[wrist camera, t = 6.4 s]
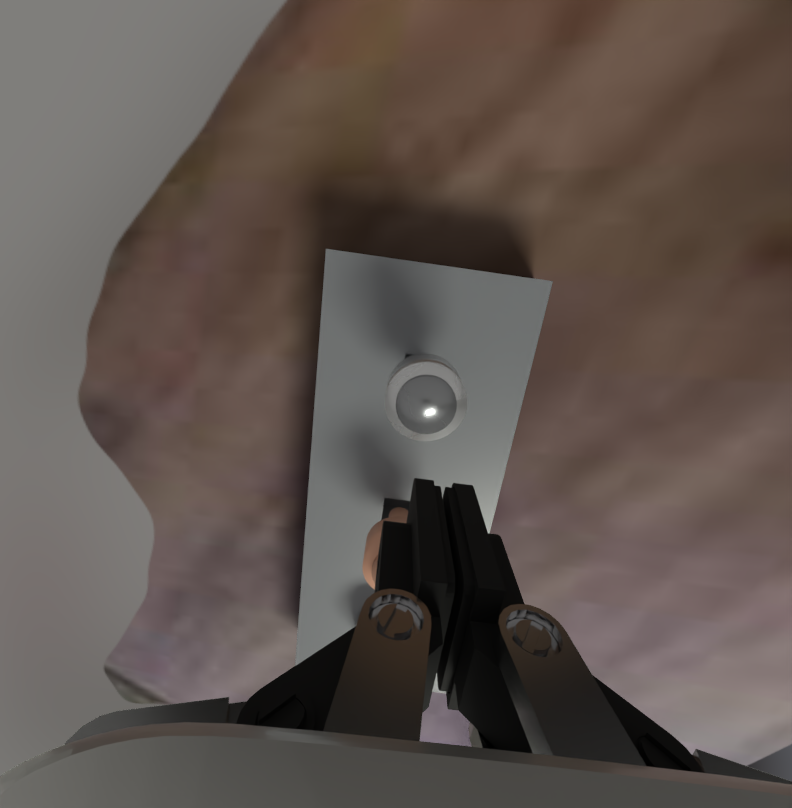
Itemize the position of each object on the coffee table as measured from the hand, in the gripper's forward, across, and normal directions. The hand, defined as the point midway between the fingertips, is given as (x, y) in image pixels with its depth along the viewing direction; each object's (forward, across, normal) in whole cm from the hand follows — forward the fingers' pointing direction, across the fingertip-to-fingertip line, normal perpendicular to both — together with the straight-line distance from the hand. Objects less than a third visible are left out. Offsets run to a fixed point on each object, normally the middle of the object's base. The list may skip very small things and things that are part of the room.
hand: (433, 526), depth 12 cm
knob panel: (+20, 0, +11) cm, 23 cm away
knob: (+16, 0, 0) cm, 16 cm away
